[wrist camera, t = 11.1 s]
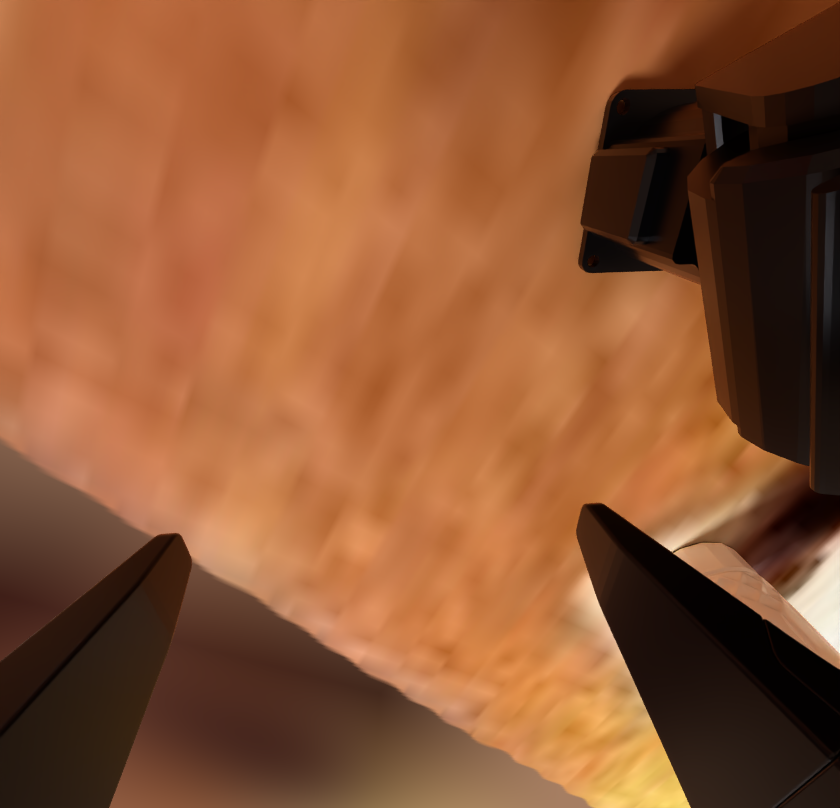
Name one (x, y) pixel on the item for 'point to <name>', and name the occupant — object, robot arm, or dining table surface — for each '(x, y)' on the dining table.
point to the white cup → (755, 594)
